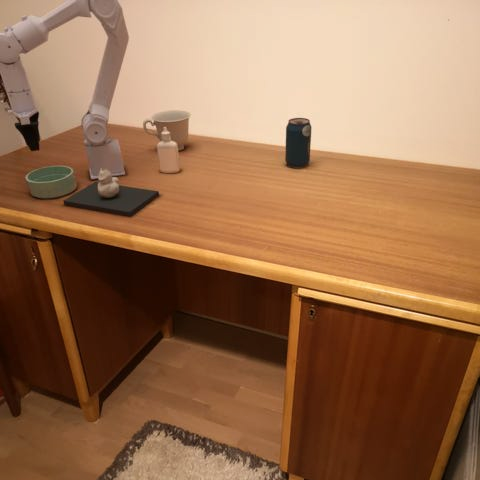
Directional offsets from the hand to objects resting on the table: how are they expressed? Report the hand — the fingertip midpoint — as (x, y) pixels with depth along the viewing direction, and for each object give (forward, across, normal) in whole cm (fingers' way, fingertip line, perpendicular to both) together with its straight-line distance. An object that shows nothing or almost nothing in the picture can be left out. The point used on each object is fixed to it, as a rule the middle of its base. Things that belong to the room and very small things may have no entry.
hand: (35, 146), depth 123 cm
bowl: (+10, +7, +2) cm, 12 cm away
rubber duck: (+9, +20, +16) cm, 27 cm away
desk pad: (+10, +20, +16) cm, 27 cm away
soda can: (+10, +16, +69) cm, 72 cm away
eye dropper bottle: (+10, +6, +34) cm, 36 cm away
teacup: (+10, -13, +38) cm, 41 cm away
